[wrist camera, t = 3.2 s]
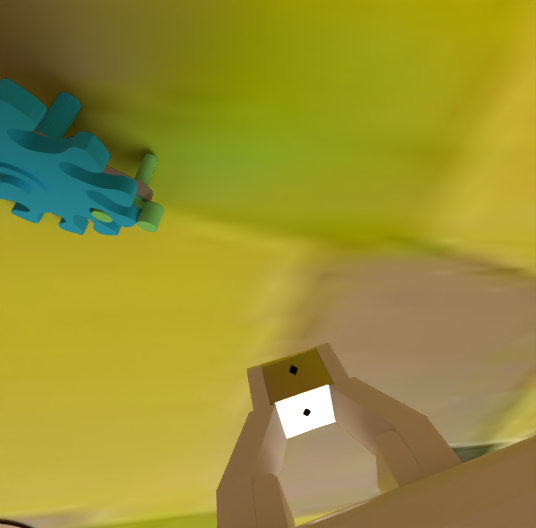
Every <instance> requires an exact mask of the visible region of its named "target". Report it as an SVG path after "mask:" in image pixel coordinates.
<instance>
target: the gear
mask: <svg viewBox="0 0 536 528" xmlns="http://www.w3.org/2000/svg"><path fill="white" fill-rule="evenodd" d="M80 109H81V104H80V102H79V101H78V100H77V99H76V98H75V97H74V96H72V95H71V94H69V93H66V92H61V93H59V95H58V96H57V98H56V99H55V101H54V102H53V104H52V105H51V107H50V108H49V110H48V111H47V108H46V106H45V105H44V104H43V103H42V102H41V101H40V100H39V99H37V98H36V97H35V96H34V95H32V94H31V93H29V92H28V91H26V90H25V89H24V88H22V87H21V86H19V85H17V84H16V83H14V82H13V81H11V80H9V79H8V78H3V79H1V80H0V199H6V200H11V201H15V202H16V204H15V206H14V207H13V209H12V210H11V213H13V214H14V215H16V216H18V217H21V218H23V219H25V220H28V221H30V222H33V223H39V222H40V220H41V218H42V216H43V214H44V213H46V212H49V213H53V214H56V215H59V216H61V217H62V219H61V221H60V223H59V227H60V228H61V229H64V230H66V231H69V232H73V233H77V234H81V235H83V234H84V232H85V230H86V228H87V225H88V223H89V221H88V220H87V219H86V218H88V219H90V220H91V221H93V222H94V226H93V228H94V230H95V231H97V232H98V233H100V234H104V235H118V233H119V231H120V228H121V226H123V227H131V226H133V225H135V224H136V223H137V221H138V223H137V225H138V226H139V227H140V228H142V229H144V230H146V231H150V232H155V231H157V229H158V226H159V223H160V220H161V217H162V214H163V212H164V208H163V207H162V206H161V205H160V204H158V203H156V202H152V201H151V199H152V196H153V192H152V190H151V189H150V188H149V187H148V186H147V185H148V183H149V180H150V178H151V175H152V173H153V170H154V168H155V165H156V162H157V158H156V157H155V156H154V155H152V154H145V155H144V158H143V160H142V163H141V165H140V167H139V170H138V172H137V174H136V177H135V179H134V178H132V177H130V176H128V175H126V174H124V173H121V172H119V171H117V170H115V169H113V168H111V167H109V166H107V163H108V161H109V159H110V157H111V156H110V154H109V152H108V150H107V149H106V147H105V146H104V145H103V144H102V142H101V141H100V140H99V139H98V138H97V137H96V136H95V135H94V134H92V133H89V132H78V133H77V134H76V135H75V136H73V137H71V138H65V139H63V137H64V136H65V134H66V132H67V131H68V129H69V127H70V126H71V124H72V122H73V121H74V119H75V117H76V116H77V114H78V112H79V111H80ZM46 112H47V113H46ZM45 113H46V114H45ZM44 115H45V116H44ZM43 116H44V117H43ZM42 118H43V119H42ZM41 119H42V120H41ZM39 122H40V123H39ZM37 125H38V126H37ZM35 128H36V129H35ZM140 213H141V215H140ZM139 216H140V217H139ZM85 217H86V218H85ZM138 218H139V220H138Z"/></svg>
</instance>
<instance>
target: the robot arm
mask: <svg viewBox="0 0 536 528" xmlns="http://www.w3.org/2000/svg"><path fill="white" fill-rule="evenodd" d="M247 375H248V381H249V387H250V393H251V398H252V404H253V410H254V411H252V412H249V415H248V417H247V419H246V422H245V424H244V426H243V429H242V431H241V434H240V436H239V438H238V441H237V443H236V446H235V448H234V450H233V453H232V455H231V457H230V460H229V462H228V465H227V467H226V469H225V472H224V474H223V477H222V479H221V481H220V484H219V486H218V488H217V491H216V495H217V528H536V436H534V437H531V438H528V439H526V440H523V441H520V442H518V443H515V444H512V445H510V446H507V447H505V448H502V449H499V450H497V451H494V452H491V453H489V454H486V455H483V456H481V457H478V458H476V459H473V460H470V461H468V462H465V463H462V462H461V461H460V459H459V458H458V457H457V455H456V454H455V453H454V452H453V450H452V449H451V448H450V446H449V445H448V444H447V443H446V441H445V440H444V439H443V437H442V436H441V435H440V434H439V432H438V431H437V430H436V428H435V427H434V426H433V425H432V423H431V422H430V421H429V419H428V418H427V417H426V416H425V415H423V414H421V413H419V412H417V411H416V410H414V409H412V408H410V407H408V406H406V405H405V404H403V403H401V402H399V401H397V400H395V399H394V398H392V397H390V396H388V395H386V394H384V393H383V392H381V391H379V390H377V389H375V388H373V387H371V386H370V385H368V384H366V383H364V382H362V381H360V380H359V379H357V378H355V377H352V378H349V376H348V374H347V373H346V371H345V369H344V368H343V366H342V364H341V363H340V361H339V359H338V357H337V356H336V354H335V352H334V351H333V349H332V347H331V346H330V344H329V343H325V344H322V345H319V346H316V347H313V348H310V349H307V350H304V351H301V352H298V353H295V354H292V355H289V356H287V357H284V358H280V359H277V360H274V361H270V362H267V363H264V364H261V365H258V366H254V367H251V368H248V369H247ZM333 422H336V424H338V425H339V426H340V427H341V428H342V429H344V430H345V431H346V432H347V433H348V434H350V435H351V436H352V437H353V438H355V439H356V440H357V441H358V442H359V443H361V444H362V445H363V446H364V447H365V448H367V449H368V450H369V451H370V452H371V453H373V454H374V455H375V456H376V464H377V481H378V488H379V490H380V492H381V495H378V496H376V497H373V498H370V499H368V500H365V501H362V502H360V503H357V504H354V505H352V506H349V507H347V508H344V509H341V510H339V511H336V512H333V513H331V514H328V515H326V516H323V517H320V518H318V519H315V520H312V521H310V522H307V523H304V524H302V525H299V526H297V527H295V523H294V518H293V516H292V513H291V511H290V508H289V506H288V503H287V501H286V498H285V495H284V493H283V490H282V488H281V485H280V483H279V476H280V472H281V467H282V463H283V458H284V454H285V449H286V444H287V438H290V437H292V436H295V435H298V434H300V433H303V432H305V431H308V430H311V429H314V428H317V427H320V426H323V425H326V424H329V423H333ZM0 528H20V527H16V526H11V525H4V524H0Z"/></svg>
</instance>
